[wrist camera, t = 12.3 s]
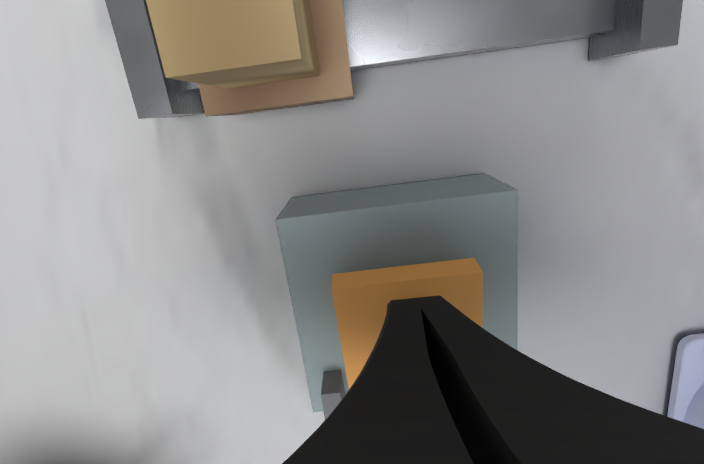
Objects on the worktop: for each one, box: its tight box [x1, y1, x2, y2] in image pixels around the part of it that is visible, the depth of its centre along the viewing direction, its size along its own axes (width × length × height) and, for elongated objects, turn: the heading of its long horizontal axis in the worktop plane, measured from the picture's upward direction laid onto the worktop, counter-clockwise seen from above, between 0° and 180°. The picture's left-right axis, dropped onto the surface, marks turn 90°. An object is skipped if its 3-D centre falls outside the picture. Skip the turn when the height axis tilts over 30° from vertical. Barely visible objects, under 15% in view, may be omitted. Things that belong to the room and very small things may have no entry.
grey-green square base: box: [276, 173, 517, 420], centre depth 13 cm, size 7×7×4 cm
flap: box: [331, 258, 483, 389], centre depth 11 cm, size 4×1×4 cm
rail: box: [105, 0, 683, 119], centre depth 11 cm, size 15×4×2 cm, turn 97°
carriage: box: [146, 0, 354, 116], centre depth 9 cm, size 4×5×6 cm
